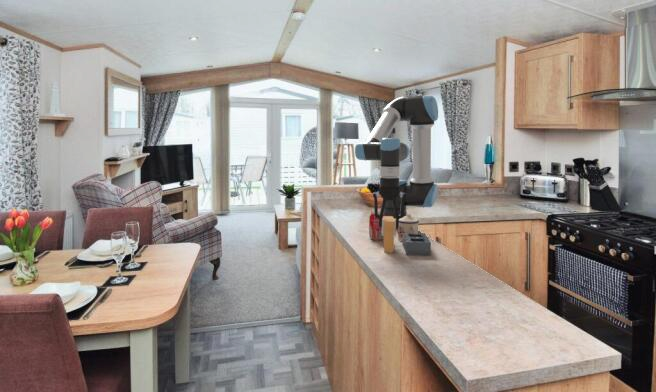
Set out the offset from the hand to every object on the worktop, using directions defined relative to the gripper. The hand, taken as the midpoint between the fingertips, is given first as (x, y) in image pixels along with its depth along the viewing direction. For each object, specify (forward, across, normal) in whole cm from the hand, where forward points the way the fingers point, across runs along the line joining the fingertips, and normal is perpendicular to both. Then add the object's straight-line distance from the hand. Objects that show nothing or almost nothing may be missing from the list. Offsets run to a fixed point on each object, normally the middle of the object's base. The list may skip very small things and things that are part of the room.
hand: (388, 234), depth 178 cm
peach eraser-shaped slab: (+6, 0, 0) cm, 6 cm away
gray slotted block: (+6, +11, 0) cm, 12 cm away
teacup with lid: (+6, +10, +16) cm, 20 cm away
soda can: (+6, -4, +18) cm, 19 cm away
